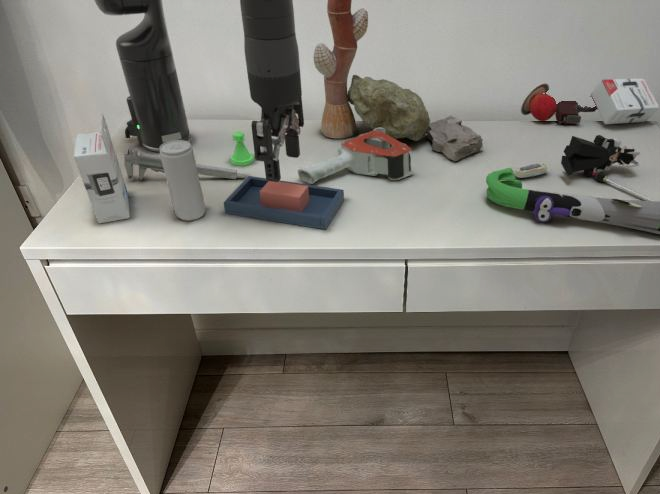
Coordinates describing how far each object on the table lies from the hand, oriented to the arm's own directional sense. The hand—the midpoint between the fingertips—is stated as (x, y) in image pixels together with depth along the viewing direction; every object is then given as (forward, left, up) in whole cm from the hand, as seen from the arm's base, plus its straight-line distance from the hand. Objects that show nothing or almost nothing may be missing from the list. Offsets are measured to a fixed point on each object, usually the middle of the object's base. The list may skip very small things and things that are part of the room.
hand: (283, 167), depth 89 cm
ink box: (+53, +52, -2) cm, 74 cm away
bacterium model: (+40, +19, -6) cm, 44 cm away
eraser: (0, -1, -6) cm, 6 cm away
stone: (+24, +31, -7) cm, 40 cm away
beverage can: (-14, -7, -7) cm, 17 cm away
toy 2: (+48, +17, -2) cm, 51 cm away
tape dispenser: (+8, +16, -7) cm, 19 cm away
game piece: (-15, +13, -7) cm, 21 cm away
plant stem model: (0, +31, -7) cm, 32 cm away
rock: (+15, +37, 0) cm, 40 cm away
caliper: (-21, +3, -7) cm, 22 cm away
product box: (-27, -9, -7) cm, 30 cm away
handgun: (+56, +51, -6) cm, 76 cm away
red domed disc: (+38, +52, -3) cm, 65 cm away
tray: (0, -1, -7) cm, 7 cm away
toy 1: (+62, +11, -4) cm, 63 cm away
